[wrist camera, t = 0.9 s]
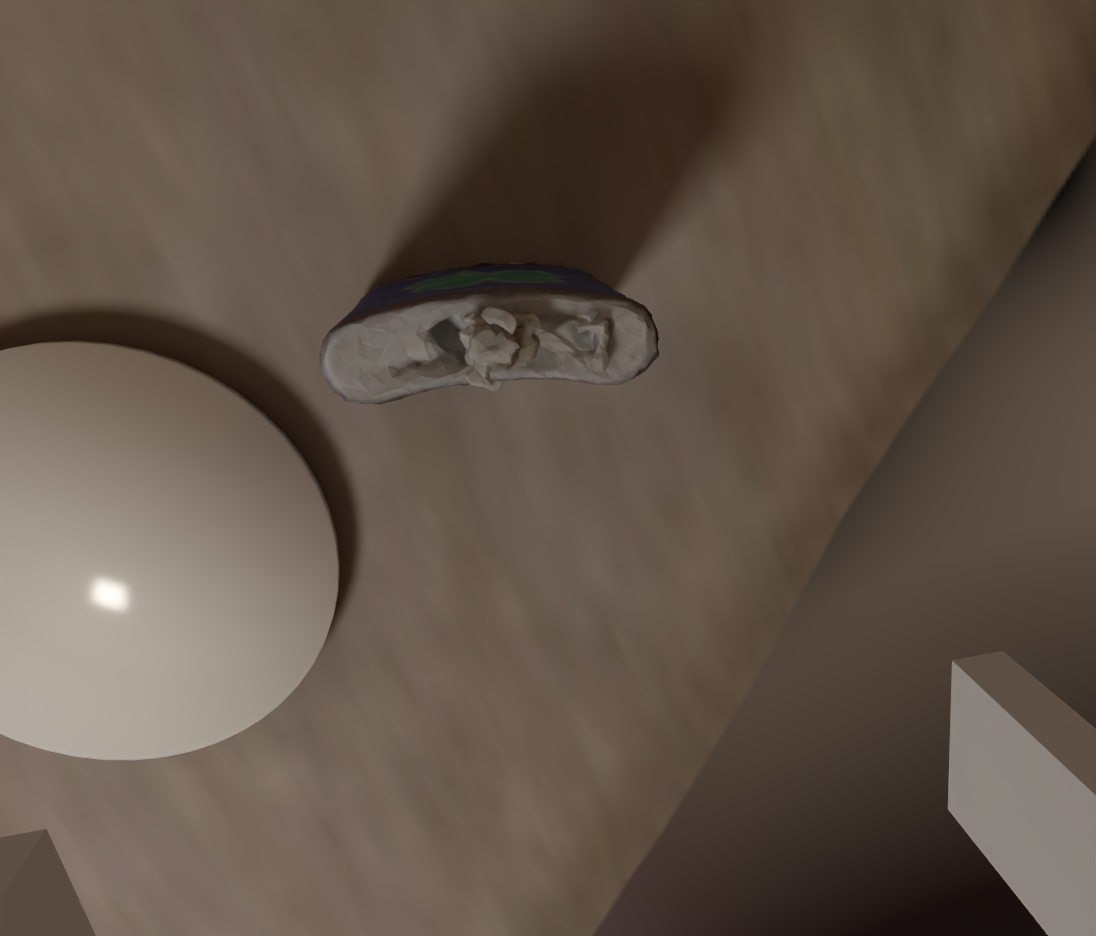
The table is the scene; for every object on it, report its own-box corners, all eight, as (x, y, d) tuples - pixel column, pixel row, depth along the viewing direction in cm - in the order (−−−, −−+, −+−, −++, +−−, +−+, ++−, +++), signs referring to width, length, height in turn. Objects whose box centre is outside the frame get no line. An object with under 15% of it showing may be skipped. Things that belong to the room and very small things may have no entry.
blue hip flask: (362, 354, 29) (311, 430, 19) (350, 273, 28) (290, 306, 18) (606, 333, 30) (686, 395, 19) (603, 254, 29) (685, 275, 18)
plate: (-75, 749, 32) (-95, 769, 30) (-179, 332, 26) (-208, 337, 25) (350, 733, 34) (346, 751, 33) (332, 343, 28) (326, 348, 27)
